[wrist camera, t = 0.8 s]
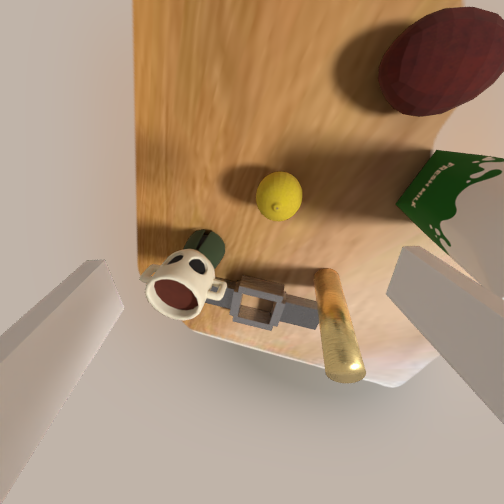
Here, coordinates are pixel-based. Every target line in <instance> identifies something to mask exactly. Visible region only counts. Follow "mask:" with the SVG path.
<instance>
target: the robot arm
mask: <svg viewBox="0 0 504 504" xmlns="http://www.w3.org/2000/svg"><path fill="white" fill-rule="evenodd" d="M386 295H387V296H388V297H389V298H390V299H391V300H392V301H393V303H394V304H395V305H396V306H397V307H398V308H399V309H400V310H401V311H402V313H403V314H404V315H405V316H406V317H407V318H408V319H409V320H410V321H411V322H412V324H413V325H414V326H415V327H416V328H417V329H418V330H419V331H420V332H421V334H422V335H423V336H424V337H425V338H426V339H427V340H428V341H429V342H430V343H431V345H432V346H433V347H434V348H435V349H436V350H437V351H438V352H439V353H440V355H441V356H442V357H443V358H444V359H445V360H446V361H447V362H448V363H449V365H451V367H452V368H453V369H454V370H455V371H456V372H457V373H458V374H459V375H460V377H461V378H462V379H463V380H464V381H465V382H466V383H467V384H468V386H469V387H470V388H471V389H472V390H473V391H474V392H475V393H476V394H477V395H478V397H479V398H480V399H481V400H482V401H483V402H484V403H485V404H486V405H487V407H488V408H489V409H490V410H491V411H492V412H493V413H494V414H495V415H496V416H497V418H498V419H499V420H500V421H501V422H502V423H503V424H504V300H503V299H501V298H500V297H498V296H497V295H495V294H493V293H492V292H490V291H489V290H487V289H486V288H484V287H483V286H481V285H479V284H478V283H476V282H475V281H473V280H472V279H470V278H468V277H467V276H465V275H464V274H462V273H461V272H459V271H458V270H456V269H454V268H453V267H451V266H450V265H448V264H447V263H445V262H443V261H442V260H440V259H439V258H437V257H436V256H434V255H433V254H431V253H429V252H428V251H426V250H425V249H423V248H422V247H420V246H405V247H402V250H401V253H400V256H399V259H398V261H397V264H396V267H395V270H394V273H393V275H392V278H391V281H390V284H389V287H388V289H387V292H386ZM123 309H124V306H123V303H122V301H121V298H120V296H119V293H118V291H117V288H116V285H115V283H114V280H113V278H112V275H111V273H110V270H109V268H108V265H107V263H106V260H87V261H86V262H85V263H83V264H82V265H81V266H80V267H79V268H77V269H76V270H75V271H74V272H73V273H72V274H71V275H69V276H68V277H67V278H66V279H65V280H64V281H63V282H62V283H60V284H59V285H58V286H57V287H56V288H55V289H53V290H52V291H51V292H50V293H49V294H48V295H47V296H45V297H44V298H43V299H42V300H41V301H40V302H39V303H37V305H35V306H34V307H33V308H32V309H31V310H30V311H28V312H27V313H26V314H25V315H24V316H23V317H21V318H20V319H19V320H18V321H17V322H16V323H15V324H14V325H12V326H11V327H10V328H9V329H8V330H7V331H5V332H4V333H3V334H2V335H1V336H0V504H2V502H3V500H4V499H5V497H6V496H7V494H8V492H9V491H10V489H11V488H12V486H13V484H14V483H15V481H16V480H17V478H18V477H19V475H20V473H21V472H22V470H23V469H24V467H25V465H26V464H27V462H28V461H29V459H30V457H31V456H32V454H33V453H34V451H35V449H36V448H37V446H38V445H39V443H40V442H41V440H42V438H43V437H44V435H45V433H46V432H47V430H48V429H49V427H50V426H51V424H52V422H53V421H54V419H55V418H56V416H57V414H58V413H59V411H60V410H61V408H62V407H63V405H64V403H65V402H66V400H67V399H68V397H69V395H70V394H71V392H72V391H73V389H74V388H75V386H76V384H77V383H78V381H79V380H80V378H81V376H82V375H83V373H84V372H85V370H86V368H87V367H88V365H89V364H90V362H91V360H92V359H93V357H94V356H95V354H96V352H97V351H98V349H99V348H100V346H101V345H102V343H103V341H104V340H105V338H106V336H107V335H108V333H109V332H110V330H111V329H112V327H113V325H114V324H115V322H116V321H117V319H118V317H119V316H120V314H121V313H122V311H123Z"/></svg>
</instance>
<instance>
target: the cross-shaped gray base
mask: <svg viewBox="0 0 504 504" xmlns="http://www.w3.org/2000/svg"><path fill="white" fill-rule="evenodd" d="M215 279H217V280H221V281H224V282H226V283H227V288H226V291H225V293H224V296H223V298H222V299H221V300H220V301H216V300H212V299H208V298H207V299H206V301H205V303H208V304H213V305H217V306H221V307H225V308H229V309H231V310H230V315H232V316H233V321H234V322H238V323H242V324H246V325H250V326H254V327H258V328H262V329H266V330H270V331H271V330H272V328H273V326H276V327H277V326H278V323H279V321H282V322H286V323H290V324H294V325H298V326H302V327H306V328H310V329H314V330H315V329H316V327H317V325H318V324H319V317H318V309H317V302H316V301H312V300H308V299H304V298H300V297H296V296H291V295H287V294H286V292H284V285H282V284H278V283H274V282H270V281H266V280H262V279H257V278H253V277H249V276H245V275H243V276H242V279H241V281H238V280H237V282H234V281H229V280H225V279H221V278H217V277H215ZM218 288H219V287H215V286H212V288H211V290H210V291H213V292H217V291H218ZM243 294H246V295H250V296H254V297H258V298H262V299H267V300H271V301H274V303H273V307H272V310H271V312H267V311H263V310H259V309H255V308H251V307H247V306H242V305H241V301H242V296H243Z"/></svg>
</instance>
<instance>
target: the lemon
mask: <svg viewBox="0 0 504 504" xmlns="http://www.w3.org/2000/svg"><path fill="white" fill-rule="evenodd" d="M301 202H302V188H301V186H300V183H299V182H298V180H297V179H296V178H295V177H294V176H293V175H291V174H289V173H287V172H281V171H280V172H274V173H271V174H269V175H267V176H266V177H265V178H264V179H263V180H262V181H261V182H260V184H259V186H258V188H257V192H256V203H257V206H258V209H259V210H260V212H261V213H262V214H263V215H264V216H265V217H266V218H268V219H269V220H273V221H284V220H287V219H289V218H290V217H292V216H293V215H294V214H295V213H296V212H297V211H298V209H299V207H300V205H301Z"/></svg>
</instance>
